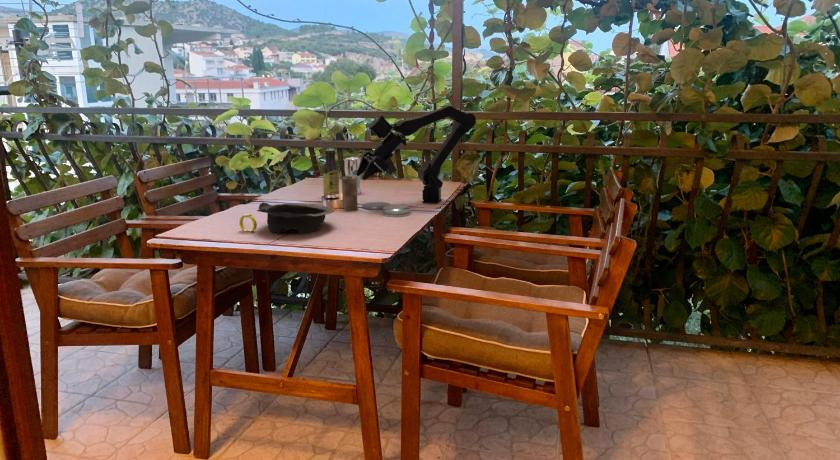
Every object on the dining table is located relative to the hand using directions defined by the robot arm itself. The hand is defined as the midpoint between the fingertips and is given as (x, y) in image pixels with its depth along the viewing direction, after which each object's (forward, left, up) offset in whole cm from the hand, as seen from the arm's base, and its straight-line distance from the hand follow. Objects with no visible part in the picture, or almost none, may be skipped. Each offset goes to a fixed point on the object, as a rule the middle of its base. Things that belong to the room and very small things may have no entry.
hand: (360, 177), depth 226 cm
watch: (+23, +41, -12) cm, 48 cm away
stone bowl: (+9, +33, -12) cm, 36 cm away
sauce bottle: (+19, -13, -12) cm, 26 cm away
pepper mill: (+3, +3, -12) cm, 13 cm away
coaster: (-5, -4, -12) cm, 13 cm away
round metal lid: (-16, +5, -12) cm, 21 cm away
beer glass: (+14, -24, -12) cm, 30 cm away
